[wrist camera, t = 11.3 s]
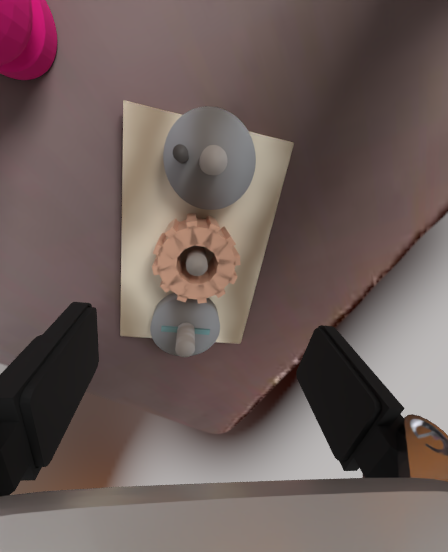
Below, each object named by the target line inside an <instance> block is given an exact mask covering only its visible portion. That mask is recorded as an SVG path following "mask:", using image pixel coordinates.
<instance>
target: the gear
mask: <svg viewBox="0 0 448 552" xmlns="http://www.w3.org/2000/svg"><path fill="white" fill-rule="evenodd" d="M194 245H195V246H202V247H206V248H208V249H209V250H210V251H212V252H213V258H212V259H211V260H210V261H209V262H208V263H207V264H208V268H207V271H206V272H205V273H204V274H203V275H201V276H193V275H191V274H189V273H188V271H187V269H186V263H184V262H183V261H182V259H181V257H180V254H181V252H182V251H183V250H184V249H186V248H189V247H192V246H194ZM234 245H236V243H235V242H234V240H233V239H232V237H231V235H230V234H229V232H228V231H227V229H226V228H225V226H224V227H222V228H221V229H220V226H219V224H218V223H217V221H216V219H215V218H213V217H211V216H209V215H208V216H207V218H206V219H200V218H196V213H191V214H187V219H186V220H183V221H181V222H179V221H178V220H177V219H174V220H173V221H172V222H170V223H169V225H168V227H167V229H166V231H165V233H162V234H161V236H160V238H159V240H158V242H157V244H156V246H155V249H154V251H153V254H156V255H157V256H156V258H155V260H154V263H153V265H152V269H153V274H154V275H160V277H161V279H162V281H161V284H160V287H161V288H162V289H163V290H164V291H165V292H166V293H167V292H168V291H170V290H171V291H172V292H174V293H175V294H177V300H179V301H182V302H186V300H187V299H197V301H198V304H200V303H207V301H206V298H208V297H211V296H214V295H216V296H217V297H218V298H219V297H221V296H222V295H224V294H225V290H224V288H225V287H226V286H227V285H228V284H229V283H231V284H234V283H235V281H236V279H237V277H238V276H237V274H236V272H235V266H236V265H240V255H239V253H238V252H237V250H236V248H235V247H234Z"/></svg>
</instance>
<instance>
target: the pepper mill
mask: <svg viewBox="0 0 448 552" xmlns="http://www.w3.org/2000/svg"><path fill="white" fill-rule="evenodd" d="M56 50H57V33H56V27H55V23H54V20H53V16H52V14H51V11H50V9H49V7H48V5H47V3H46V1H45V0H0V73H1V74H2V75H5V76H7V77H10V78H13V79H18V80H30V79H35V78H37V77H40V76H42V75H43V74H44V73H45V72H46V71H48V69H49V68H50V67H51V65H52V63H53V61H54V58H55V55H56Z"/></svg>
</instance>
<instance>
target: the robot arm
mask: <svg viewBox="0 0 448 552" xmlns="http://www.w3.org/2000/svg"><path fill="white" fill-rule="evenodd" d="M98 362H99V355H98V333H97V311H96V308H94V307H92V305H91V304H90V303H81V302H73V303H71V304H70V305H69V307H68V308H67V309H66V310H65V311H64V312H63V313H62V314H61V315H60V316H59V317H58V319H57V320H56V321H55V322H54V323H53V324H52V325H51V326H50V327H49V328H48V329H47V330H46V332H45V333H44V334H43V335H40V336H37V337H36V338H35V339H34V340H33V341H32V342H31V343H30V344H29V345H28V346H27V347H26V348H25V349H24V350H23V351H22V352H21V353H20V354H19V356H18V357H17V358H16V359H15V360H14V361H13V362H12V363H11V364H10V365H9V366H8V367H7V368H6V369H5V370H4V371H3V373H1V375H0V552H448V435H447V434H446V433H445V432H444V431H443V430H441V429H440V428H439V427H438V426H436V425H435V424H433V423H432V422H430V421H429V420H427V419H425V418H422V417H420V416H417V415H413V414H412V415H407V416H406V417H405V418H403V417H402V416H401V412H402V411H403V410H404V407H403V406H402V405H401V404H400V403H399V402H398V401H397V399H396V398H395V397H394V396H393V395H392V393H390V391H389V390H388V389H387V388H386V386H385V385H384V384H383V383H382V382H381V381H380V380H379V378H378V377H377V376H376V375H375V374H374V373H373V371H372V370H371V369H370V368H369V367H368V366H367V364H366V363H365V362H364V361H363V360H362V359H361V358H360V356H359V355H358V354H357V353H356V352H355V351H354V350H353V348H352V347H351V346H350V345H349V344H348V342H347V341H346V340H345V339H344V338H343V337H342V336H341V334H340V333H339V332H338V331H337V330H336V329H335V328H334V327H332V326H322V325H321V326H319V327H318V328H316V329H315V330H314V332H313V335H312V337H311V339H310V342H309V344H308V346H307V349H306V351H305V353H304V355H303V358H302V360H301V362H300V365H299V367H298V369H297V379H298V381H299V383H300V386H301V387H302V389H303V392H304V394H305V396H306V398H307V400H308V402H309V404H310V406H311V409H312V411H313V413H314V415H315V417H316V419H317V421H318V423H319V425H320V427H321V429H322V432H323V434H324V436H325V438H326V440H327V442H328V444H329V446H330V448H331V450H332V453H333V454H334V456H335V458H336V459H337V460H339V461H340V463H341V465H342V467H343V470H344V471H355V470H356V471H357V470H358V469H359V467H360V469H361V471H362V473H363V478H350V479H318V480H286V481H258V482H231V483H204V484H180V485H158V486H157V485H156V486H133V487H111V488H110V487H109V488H93V489H77V490H60V491H47V492H45V491H44V492H35V493H27V494H17V495H10V494H11V493H12V492H13V491H15V489H16V488H17V486H18V484H19V482H20V481H21V480H35V479H36V477H37V475H38V473H39V471H40V469H41V468H42V467H46V466H47V465H48V464H49V463H50V461H51V460H52V458H53V456H54V454H55V451H56V450H57V448H58V445H59V444H60V442H61V439H62V438H63V436H64V434H65V432H66V430H67V428H68V425H69V424H70V422H71V419H72V417H73V415H74V413H75V411H76V409H77V407H78V405H79V403H80V401H81V399H82V397H83V395H84V393H85V391H86V389H87V387H88V385H89V383H90V381H91V379H92V377H93V375H94V373H95V371H96V369H97V366H98Z"/></svg>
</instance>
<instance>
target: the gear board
mask: <svg viewBox="0 0 448 552" xmlns="http://www.w3.org/2000/svg"><path fill="white" fill-rule="evenodd" d="M293 145H294V143H293V142H289V141H285V140H281V139H277V138H273V137H269V136H265V135H261V134H257V133H253V132H249V131H248V130H247V128H246V127H245V126H244V124H243V123H242V122H241V121H240V120H239V119H238V118H237V117H236V116H234V115H233V114H232V113H230V112H228V111H226V110H224V109H221V108H218V107H210V106H205V107H199V108H195V109H192V110H190V111H188V112H187V113H185V114H184V115H181V114H177V113H173V112H169V111H165V110H161V109H157V108H153V107H149V106H145V105H141V104H137V103H133V102H129V101H125V100H123V170H122V243H121V316H120V336H129V337H144V338H152V339H153V340H154V342H155V343H156V345H157V346H158V347H159V348H161V349H162V350H163V351H165V352H167V353H169V354H172V355H176V356H181V357H189V356H193V355H197V354H200V353H202V352H204V351H206V350H207V349H209V348H210V347H211V346H212V345H213V344H214V343H215V342H221V343H236V344H241V340H242V336H243V332H244V329H245V325H246V321H247V317H248V314H249V310H250V306H251V302H252V299H253V295H254V291H255V288H256V284H257V280H258V276H259V273H260V269H261V265H262V261H263V258H264V254H265V250H266V246H267V243H268V239H269V235H270V231H271V228H272V224H273V220H274V216H275V213H276V209H277V205H278V201H279V198H280V194H281V190H282V186H283V183H284V179H285V175H286V171H287V168H288V164H289V160H290V156H291V153H292V149H293ZM191 213H196V218H200V219H206V218H207V216H208V215H209V216H211V217H213V218H215V219H216V221H217V223H218V224H219V226H220V229H221V228H222V227H224V226H225V228H226V229H227V231H228V232H229V234H230V235H231V237H232V239H233V240H234V242H235V243H236V245H234V247H235V248H236V250H237V252H238V253H239V255H240V265H236V266H235V272H236V274H237V276H238V277H237V279H236V281H235V283H234V284H231V283H229V284H228V285H227V286H226V287H225V288H224V290H225V294H224V295H222V296H221V297H219V298H218V297H217V296H216V295H214V296H211V297H208V298H206V301H207V303H200V304H198V301H197V299H187V300H186V302H182V301H179V300H177V294H175V293H174V292H172V291H171V290H170V291H168V292H167V293H166V292H165V291H164V290H163V289H162V288H161V287H160V284H161V281H162V279H161V277H160V275H154V274H153V269H152V265H153V263H154V260H155V258H156V256H157V255H156V254H153V251H154V249H155V246H156V244H157V242H158V240H159V238H160V236H161V234H162V233H165V231H166V229H167V227H168V225H169V223H170V222H172V221H173V220H174V219H177V220H178V221H179V222H181V221H183V220H186V219H187V214H191ZM180 257H181V259H182V261H183V262H184V263H186V269H187V271H188V273H189V274H191V275H193V276H201V275H203V274H204V273H205V272H206V271H207V268H208V264H207V263H208V262H209V261H210V260H211V259H212V258H213V252H212V251H210V250H209V249H208V248H206V247H202V246H195V245H194V246H192V247H189V248H186V249H184V250H183V251H182V252H181V254H180Z"/></svg>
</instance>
